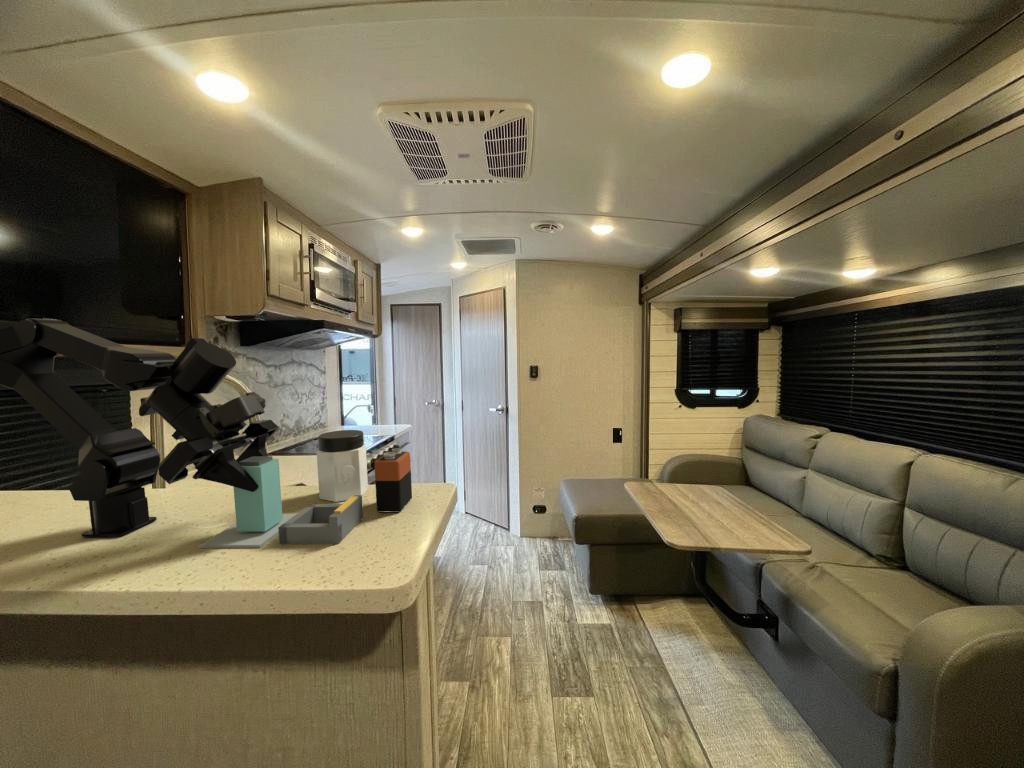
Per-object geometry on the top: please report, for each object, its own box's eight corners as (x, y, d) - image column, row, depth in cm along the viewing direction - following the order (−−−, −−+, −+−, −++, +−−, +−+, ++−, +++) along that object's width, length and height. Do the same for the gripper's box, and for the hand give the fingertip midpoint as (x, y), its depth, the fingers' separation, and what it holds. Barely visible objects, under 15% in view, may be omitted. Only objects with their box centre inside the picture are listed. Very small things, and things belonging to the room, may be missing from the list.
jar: (323, 505, 74) (319, 440, 73) (316, 493, 80) (312, 433, 79) (373, 495, 78) (370, 434, 77) (363, 484, 85) (360, 427, 84)
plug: (236, 531, 62) (231, 463, 61) (256, 519, 66) (251, 455, 65) (265, 531, 61) (260, 462, 61) (282, 519, 66) (278, 455, 65)
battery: (375, 513, 70) (372, 456, 69) (390, 498, 77) (387, 446, 76) (400, 513, 70) (397, 456, 69) (412, 498, 76) (410, 446, 75)
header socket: (279, 543, 59) (277, 515, 59) (311, 518, 68) (309, 493, 68) (338, 543, 59) (336, 514, 58) (363, 518, 68) (361, 493, 67)
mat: (199, 547, 58) (199, 545, 58) (251, 516, 69) (250, 514, 69) (260, 547, 58) (260, 544, 58) (302, 516, 69) (302, 513, 69)
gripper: (171, 382, 53) (260, 465, 53) (264, 373, 71) (329, 435, 72) (118, 442, 54) (206, 523, 54) (223, 418, 72) (288, 478, 73)
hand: (266, 484), depth 63 cm, fingers closed on plug, 4 cm apart
